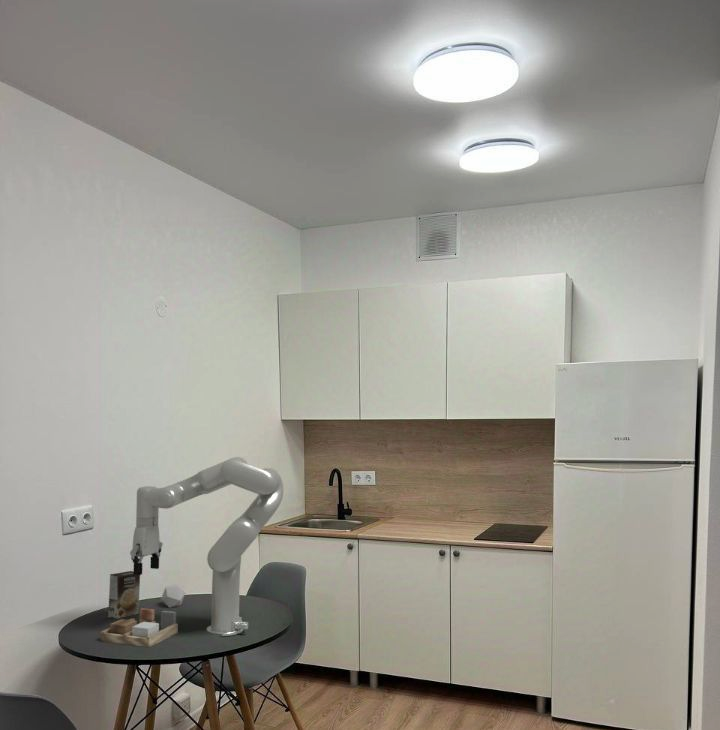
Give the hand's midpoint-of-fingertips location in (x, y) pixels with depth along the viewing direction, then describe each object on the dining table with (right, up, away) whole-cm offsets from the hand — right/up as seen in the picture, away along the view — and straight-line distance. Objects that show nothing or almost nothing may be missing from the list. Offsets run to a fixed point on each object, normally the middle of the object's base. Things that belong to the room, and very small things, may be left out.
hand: (146, 571), depth 245 cm
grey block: (+6, -19, -11) cm, 22 cm away
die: (+1, -23, +31) cm, 38 cm away
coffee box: (-13, -22, +14) cm, 29 cm away
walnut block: (-2, -19, -8) cm, 20 cm away
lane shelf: (+2, -20, -8) cm, 22 cm away
